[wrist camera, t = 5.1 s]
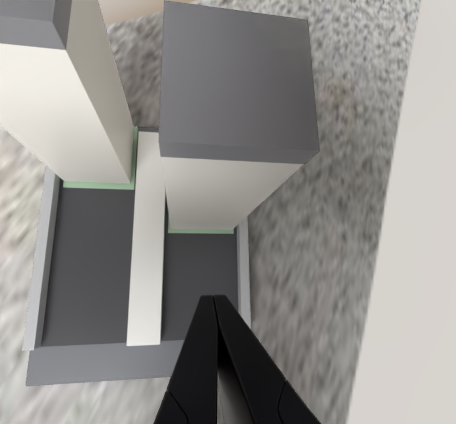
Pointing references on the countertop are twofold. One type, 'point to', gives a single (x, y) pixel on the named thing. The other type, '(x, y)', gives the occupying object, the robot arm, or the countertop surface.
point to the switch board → (122, 276)
